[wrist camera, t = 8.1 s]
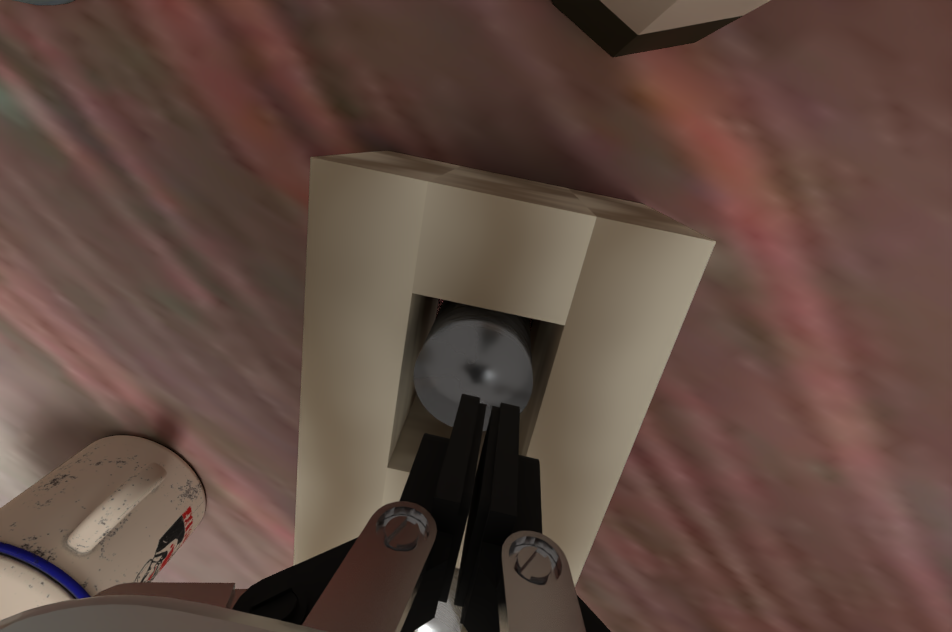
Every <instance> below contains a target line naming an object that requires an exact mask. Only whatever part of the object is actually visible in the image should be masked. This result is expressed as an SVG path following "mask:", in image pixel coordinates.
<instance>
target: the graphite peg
mask: <svg viewBox="0 0 952 632" xmlns="http://www.w3.org/2000/svg"><path fill="white" fill-rule="evenodd" d="M414 385H415V390H416V392H417V395H418V397H419V399H420V401H421V403H422V404H423V405H424V407H425V408H426V409H427V410H428V411H429V413H430V414H432V415H433V416H434V417H435V418H436V419H438V420H439V421H441V422H443V423H445V424H446V425H448V426H451V427H453V425H454V421H455V418H456V414H457V410H458V407H459V403H460V399H461V395H462V394H467V395H471V396H475V397H480V403H483V404H487V406H486V413H485V419H484V425H483V431H486V430H487V426H488V422H489V418H490V414H491V410H492V406H496V407H500V404H501V402H502V403H506V404H510V405H515V406H519V407H520V413H521V412H522V411H523V410H524V408H525V407H526V405H527V403H528V402H529V399H530V397H531V393H532V388H533V372H532V354H531V337H530V320H529V318H528V317H523V316H518V315H513V314H509V313H504V312H499V311H495V310H490V309H485V308H480V307H476V306H471V305H466V304H462V303H457V302H452V301H448V300H444V302H443V304H442V306H441V308H440V310H439V312H438V315H437V317H436V319H435V321H434V323H433V325H432V327H431V330H430V332H429V334H428V336H427V338H426V340H425V342H424V345H423V347H422V349H421V351H420V353H419V355H418V358H417V360H416V363H415V367H414Z"/></svg>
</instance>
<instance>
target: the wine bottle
mask: <svg viewBox="0 0 952 632" xmlns="http://www.w3.org/2000/svg"><path fill="white" fill-rule="evenodd" d="M769 1H771V0H552V2H553V5H554V6H556V7H557V8H558V9H559V10H560V11H561V12H562V13H563V14H565V15H566V16H567V17H568V18H569V19H570V20H571V21H572V22H574V23H575V24H576V25H577V26H578V27H579V28H580V29H581V30H583V31H584V32H585V33H586V34H587V35H588V36H589V37H590V38H592V39H593V40H594V41H595V42H596V43H597V44H598V45H599V46H601V47H602V48H603V49H604V50H605V51H606V52H607V53H608V54H610V55H611V56H612V57H617V56H623V55H628V54H634V53H639V52H645V51H651V50H656V49H662V48H667V47H673V46H678V45H684V44H689V43H695V42H696V41H698V40H700V39H702V38H704V37H705V36H707V35H709V34H711V33H713V32H715V31H716V30H718V29H720V28H722V27H724V26H725V25H727V24H729V23H731V22H733V21H734V20H736V19H738V18H740V17H742V16H743V15H745V14H747V13H749V12H751V11H752V10H754V9H756V8H758V7H760V6H762V5H763V4H765V3H767V2H769Z"/></svg>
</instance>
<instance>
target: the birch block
mask: <svg viewBox="0 0 952 632" xmlns="http://www.w3.org/2000/svg"><path fill="white" fill-rule="evenodd" d="M715 243H716V241H714V240H712V239H710V238H708V237H706V236H704V235H702V234H700V233H698V232H696V231H694V230H693V229H691V228H689V227H687V226H685V225H683V224H681V223H679V222H677V221H675V220H673V219H671V218H669V217H668V216H666V215H664V214H662V213H660V212H658V211H656V210H654V209H652V208H650V207H648V206H646V205H644V204H641V203H636V202H632V201H627V200H622V199H617V198H612V197H608V196H603V195H598V194H593V193H588V192H584V191H579V190H574V189H569V188H564V187H560V186H555V185H550V184H545V183H540V182H536V181H531V180H526V179H521V178H516V177H512V176H507V175H502V174H497V173H492V172H488V171H483V170H478V169H473V168H468V167H464V166H459V165H454V164H449V163H444V162H440V161H435V160H430V159H425V158H420V157H416V156H411V155H406V154H401V153H396V152H392V151H375V152H364V153H352V154H340V155H328V156H317V157H311V159H310V183H309V207H308V231H307V254H306V278H305V302H304V326H303V349H302V373H301V397H300V421H299V444H298V468H297V492H296V516H295V539H294V563H293V566H294V565H296V564H299V563H301V562H303V561H305V560H308V559H310V558H312V557H314V556H317V555H319V554H321V553H323V552H326V551H328V550H330V549H332V548H335V547H337V546H339V545H341V544H344V543H346V542H348V541H350V540H353V539H355V538H357V537H359V535H360V534H361V532H362V531H363V529H364V527H365V526H366V524H367V523H368V521H369V520H370V518H371V516H372V515H373V514H374V513H375V512H376V511H377V510H378V509H379V508H381V507H382V506H384V505H386V504H389V503H392V502H396V501H400V498H401V495H402V493H403V490H404V487H405V484H406V482H407V479H408V476H409V473H410V471H411V468H412V465H413V462H414V460H415V457H416V454H417V451H418V449H419V446H420V443H421V440H422V438H423V435H424V433H427V434H432V435H436V436H440V437H445V438H449V439H450V436H451V433H452V429H453V427H451V426H448V425H446V424H445V423H443V422H441V421H439V420H438V419H436V418H435V417H434V416H433V415H432V414H430V413H429V411H428V410H427V409H426V408H425V407H424V405H423V404H422V403H421V401H420V399H419V397H418V395H417V392H416V390H415V385H414V367H415V363H416V360H417V358H418V355H419V353H420V351H421V349H422V347H423V345H424V342H425V340H426V338H427V336H428V334H429V332H430V330H431V327H432V325H433V323H434V321H435V319H436V313H437V307H438V301H439V299H443V300H448V301H452V302H457V303H462V304H466V305H471V306H476V307H480V308H485V309H490V310H495V311H499V312H504V313H509V314H513V315H518V316H523V317H528V318H532V319H534V320H533V324H532V328H531V332H530V337H531V354H532V372H533V388H532V393H531V397H530V399H529V402H528V403H527V405H526V407H525V408H524V410H523V411H522V412H521V413H520V425H519V455H522V456H527V457H531V458H535V459H539V462H540V482H541V508H542V534H543V535H545V536H547V537H549V538H550V539H552V540H553V541H554V542H555V543H556V544H558V546H559V547H560V548H561V549H562V551H563V552H564V553H565V556H566V558H567V561H568V563H569V567H570V571H571V575H572V579H573V583H574V587H575V586H576V583H577V581H578V578H579V576H580V574H581V571H582V569H583V566H584V564H585V561H586V559H587V556H588V554H589V552H590V549H591V547H592V544H593V542H594V539H595V537H596V534H597V532H598V530H599V527H600V525H601V522H602V520H603V517H604V515H605V512H606V510H607V507H608V505H609V503H610V500H611V498H612V495H613V493H614V490H615V488H616V485H617V483H618V481H619V478H620V476H621V473H622V471H623V468H624V466H625V463H626V461H627V458H628V456H629V454H630V451H631V449H632V446H633V444H634V441H635V439H636V436H637V434H638V432H639V429H640V427H641V424H642V422H643V419H644V417H645V414H646V412H647V410H648V407H649V405H650V402H651V400H652V397H653V395H654V392H655V390H656V387H657V385H658V383H659V380H660V378H661V375H662V373H663V370H664V368H665V365H666V363H667V361H668V358H669V356H670V353H671V351H672V348H673V346H674V343H675V341H676V339H677V336H678V334H679V331H680V329H681V326H682V324H683V321H684V319H685V316H686V314H687V312H688V309H689V307H690V304H691V302H692V299H693V297H694V294H695V292H696V290H697V287H698V285H699V282H700V280H701V277H702V275H703V272H704V270H705V268H706V265H707V263H708V260H709V258H710V255H711V253H712V250H713V248H714V245H715ZM485 434H486V431H482V437H481V444H480V450H479V456H478V462H477V467H478V463H479V459H480V455H481V451H482V447H483V443H484V438H485ZM476 471H477V469H476ZM475 476H476V475H475ZM467 520H468V518H467ZM466 526H467V522H466ZM466 526H465V530H464V534H463V538H462V542H461V547H460V551H459V555H458V559H457V563H456V567H455V568H460V562H461V556H462V550H463V544H464V538H465V532H466ZM461 632H468V631H467V630H466V628H465V627H464V625H463V624H462V631H461Z"/></svg>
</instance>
